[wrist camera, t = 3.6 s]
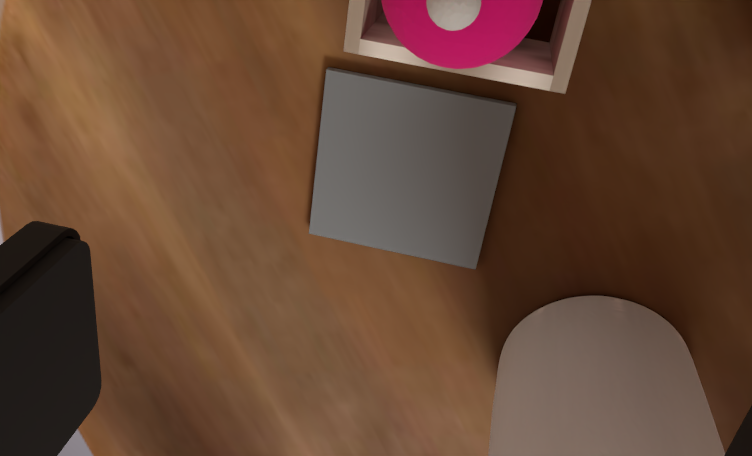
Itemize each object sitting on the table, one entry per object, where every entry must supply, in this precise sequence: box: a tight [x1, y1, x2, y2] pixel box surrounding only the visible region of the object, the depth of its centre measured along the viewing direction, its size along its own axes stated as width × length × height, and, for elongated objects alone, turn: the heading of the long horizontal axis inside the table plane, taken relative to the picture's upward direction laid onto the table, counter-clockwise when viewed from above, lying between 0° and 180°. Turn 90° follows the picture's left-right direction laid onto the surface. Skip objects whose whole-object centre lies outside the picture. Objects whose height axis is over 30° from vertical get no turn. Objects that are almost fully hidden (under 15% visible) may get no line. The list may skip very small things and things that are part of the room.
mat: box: [309, 67, 516, 270], centre depth 47 cm, size 12×12×1 cm
